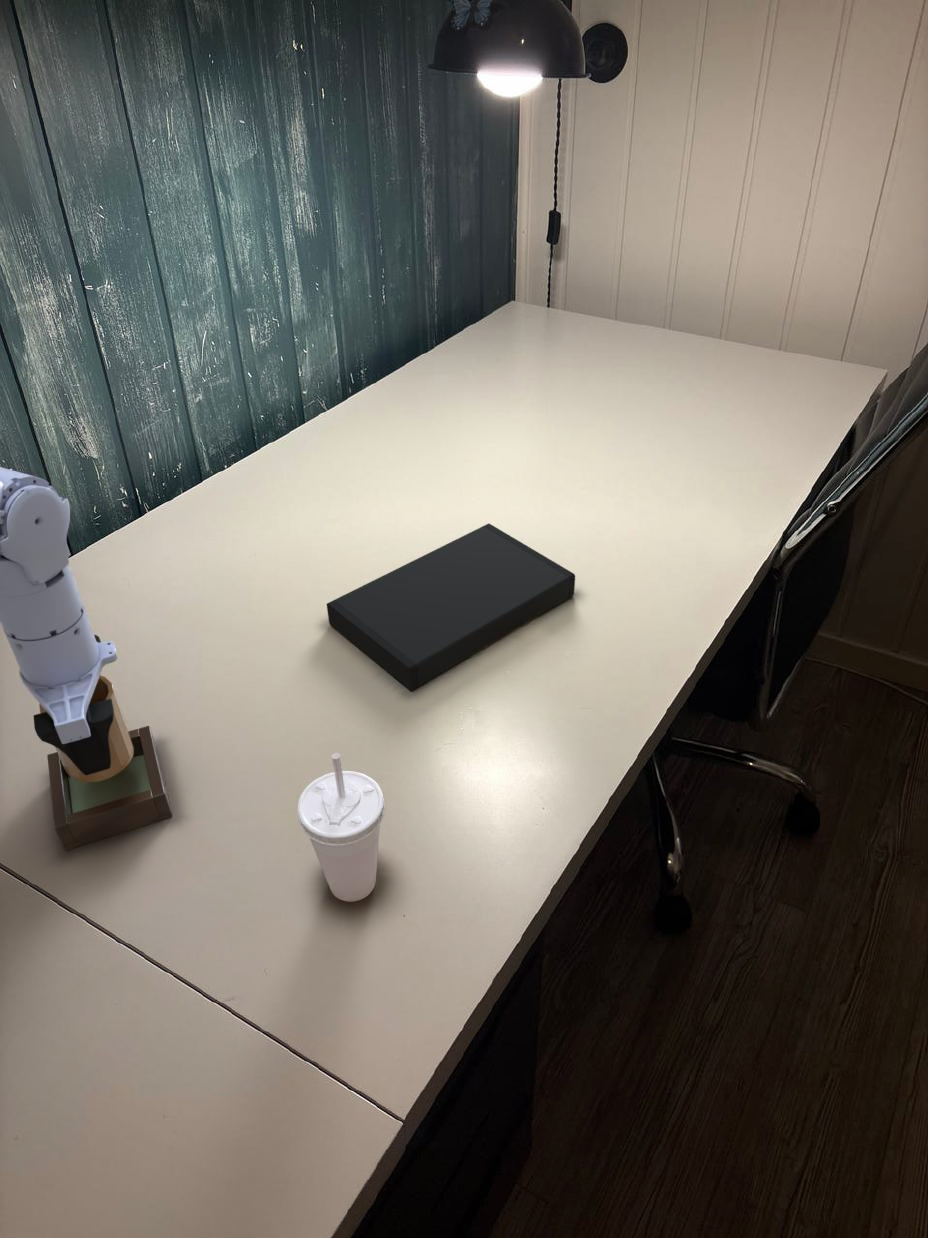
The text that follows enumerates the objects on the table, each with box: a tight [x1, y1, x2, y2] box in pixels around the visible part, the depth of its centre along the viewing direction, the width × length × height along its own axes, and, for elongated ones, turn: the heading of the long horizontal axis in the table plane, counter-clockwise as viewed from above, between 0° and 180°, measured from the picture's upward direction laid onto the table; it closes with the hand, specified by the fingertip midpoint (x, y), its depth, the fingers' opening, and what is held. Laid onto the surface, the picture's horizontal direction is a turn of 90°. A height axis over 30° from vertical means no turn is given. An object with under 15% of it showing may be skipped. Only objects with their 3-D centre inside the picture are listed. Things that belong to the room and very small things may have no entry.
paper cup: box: [38, 675, 134, 782], centre depth 75 cm, size 6×6×7 cm
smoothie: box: [297, 752, 386, 903], centre depth 69 cm, size 6×6×14 cm
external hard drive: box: [326, 523, 576, 692], centre depth 99 cm, size 14×23×3 cm, turn 131°
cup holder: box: [46, 725, 173, 852], centre depth 79 cm, size 9×9×3 cm
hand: (93, 744), depth 76 cm, fingers closed on paper cup, 5 cm apart
